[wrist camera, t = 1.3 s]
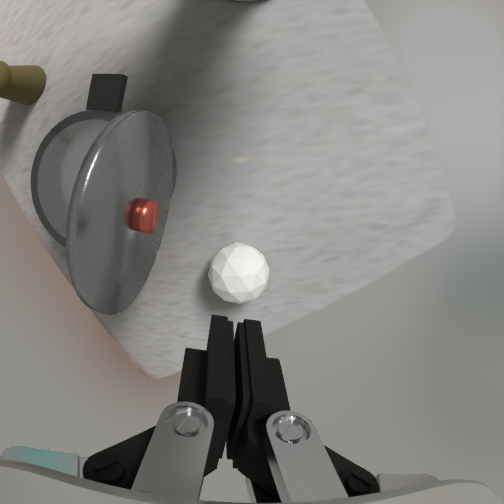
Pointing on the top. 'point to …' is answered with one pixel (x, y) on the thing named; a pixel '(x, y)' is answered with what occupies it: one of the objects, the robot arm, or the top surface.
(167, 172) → the lid
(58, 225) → the pot
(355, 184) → the top surface
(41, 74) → the cork
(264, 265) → the geometric ball
